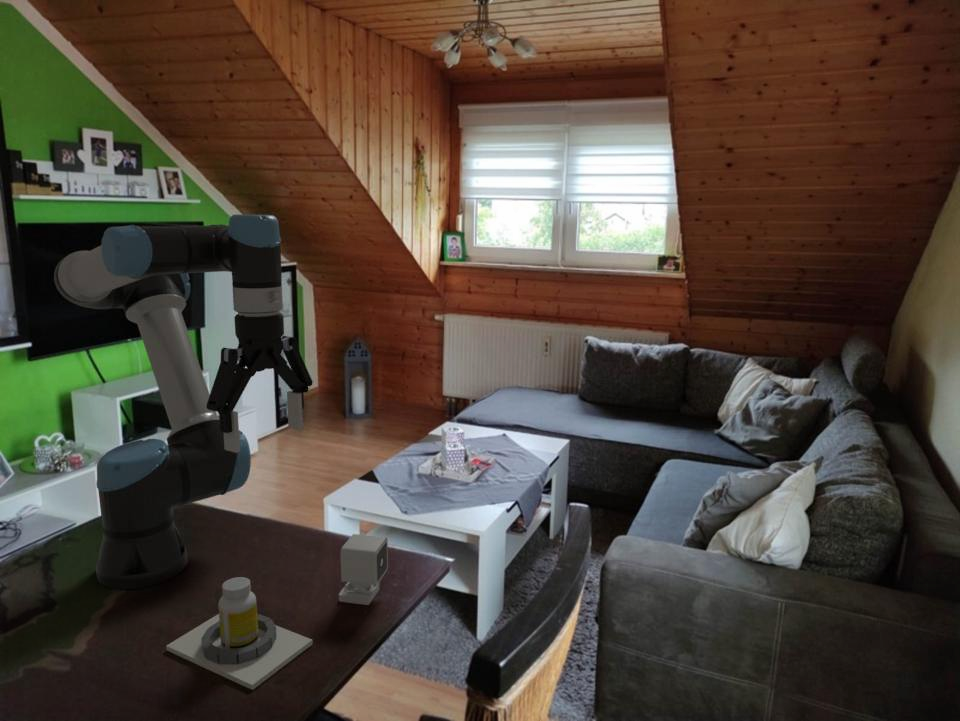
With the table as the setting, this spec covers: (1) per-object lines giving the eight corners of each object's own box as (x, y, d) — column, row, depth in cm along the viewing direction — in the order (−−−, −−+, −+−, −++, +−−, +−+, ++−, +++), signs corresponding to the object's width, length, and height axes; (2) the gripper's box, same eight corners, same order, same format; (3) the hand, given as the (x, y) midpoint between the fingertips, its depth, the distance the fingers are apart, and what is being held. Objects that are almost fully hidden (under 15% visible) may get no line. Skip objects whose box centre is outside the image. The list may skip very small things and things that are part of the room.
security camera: (376, 607, 116) (375, 552, 114) (337, 602, 118) (335, 548, 115) (388, 588, 122) (387, 535, 120) (351, 583, 124) (349, 531, 122)
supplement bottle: (266, 637, 106) (262, 579, 104) (240, 657, 102) (236, 596, 99) (239, 628, 109) (235, 571, 107) (213, 647, 104) (208, 588, 102)
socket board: (166, 650, 104) (165, 636, 104) (229, 611, 115) (228, 598, 114) (252, 690, 96) (251, 674, 95) (312, 644, 106) (311, 630, 106)
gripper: (208, 325, 98) (218, 466, 103) (330, 306, 119) (334, 423, 124) (175, 320, 102) (185, 456, 107) (298, 302, 123) (303, 417, 128)
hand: (265, 439), depth 115 cm, fingers open, 13 cm apart
